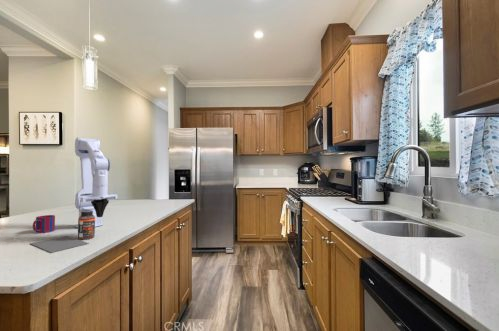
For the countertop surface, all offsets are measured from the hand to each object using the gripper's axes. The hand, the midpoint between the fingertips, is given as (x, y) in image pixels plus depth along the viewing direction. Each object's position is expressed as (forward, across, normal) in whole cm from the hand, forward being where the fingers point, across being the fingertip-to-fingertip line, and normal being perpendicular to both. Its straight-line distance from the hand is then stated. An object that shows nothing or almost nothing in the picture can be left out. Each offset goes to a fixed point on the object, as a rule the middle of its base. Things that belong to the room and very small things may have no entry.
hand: (99, 216), depth 106 cm
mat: (+8, -15, 0) cm, 17 cm away
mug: (+8, -11, +26) cm, 29 cm away
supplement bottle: (+8, -5, 0) cm, 10 cm away
